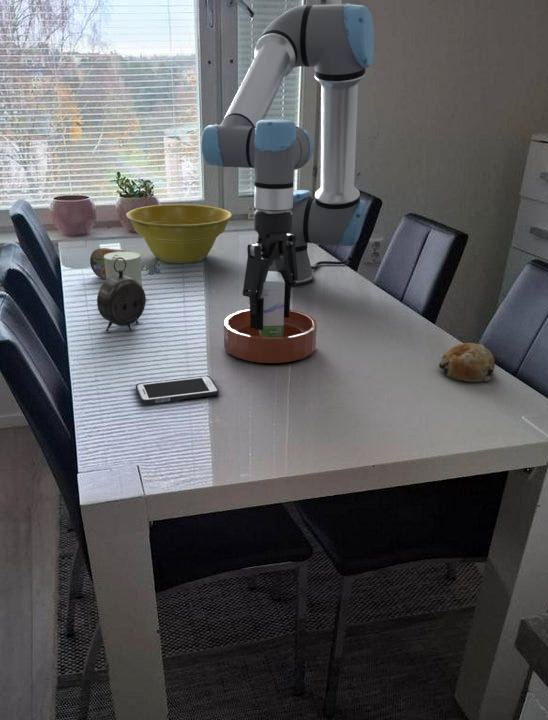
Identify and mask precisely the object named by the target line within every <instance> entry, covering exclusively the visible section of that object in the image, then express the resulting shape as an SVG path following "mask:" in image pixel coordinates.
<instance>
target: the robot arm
mask: <svg viewBox="0 0 548 720" xmlns="http://www.w3.org/2000/svg"><path fill="white" fill-rule="evenodd" d="M374 27H375V26H374V21H373V16H372V13H371V11H370V10H369V8H368V7H367V6H366V5H363V4H352V3H334V4H333V3H332V4H331V3H330V4H313V5H311V4H301V5H298V6H294V7H292V8H290V9H288V10H286V11H284V12H282V13H281V14H280V15H279V16H278V17H276V18H275V19H274V20H273V21H272V22H271V23H269V24H268V25H267V26H266V28H265V29H264V30H263V31H262V33H261V34H260V35H259V38H258V40H257V42H256V44H255V47H254V51H253V52H254V53H253V54H254V59H253V60H252V62H251V64H250V67H249V68H248V70H247V72H246V74H245V77H244V78H243V80H242V81H241V84H240V86H239V88H238V90H237V93H236V94H235V96H234V98H233V100H232V102H231V104H230V106H229V107H228V109H227V112H226V114H225V116H224V118H223V119H222V122H221V123H220V124H218V123H214V124H209V125H207V126H205V127H204V129H203V130H202V134H201V138H200V149H201V150H200V152H201V154H202V159H203V160H204V162H205V163H206V164H207V165H210V166H215V167H217V166H218V167H222V168H244V169H246V168H247V169H254V182H253V183H254V198H253V199H254V200H253V204H254V205H253V206H254V209H256V210H255V211H254V212H253V230H254V231H255V232H256V233H257V234H258V236H257V241H256V243H254V244H252V243H248V244H247V247H246V252H247V259H246V267H245V273H244V280H243V288H242V296H243V297H247V298H248V299H249V309H250V328H254V329H258V330H262V329H263V301H264V298H261V294H262V291H263V283H264V282H265V281H266V277H267V274H268V271H276V272H280V273H281V275H282V277H283V279H284V282H285V293H284V317H286V318H288V317H289V315H290V310H291V294H292V287H293V288H295V287H296V286H300V285H304V284H307V283H310V282H312V280H313V270H317V268H318V266H319V265H345V264H347V263H348V262H349V260H352V256H351V255H350V254H347V255H346V258H345V260H341V261H334V260H333V261H332V260H331V261H330V260H320V261H317V262H315V264H314V265H313V266H312V265H311V261H310V257H309V252H308V244H316V245H326V246H337V247H352V246H354V245H355V244H357V242H358V240H359V238H360V235H361V232H362V228H363V226H364V221H365V216H366V211H367V202H366V201H365V200H364V199H361V194H360V190H359V189H358V188H357V187H356V186H355V178H356V177H355V176H356V175H355V174H356V148H357V126H358V125H357V121H358V120H357V119H358V101H359V99H358V98H359V83H360V82H361V80H362V79H363V78H364V77H365V75H366V69H368V68H370V67H371V66H372V64H373V61H374V55H375V52H374V51H375V28H374ZM300 67H306V68H307V67H308V68H314V79H315V80H316V81H317V82H318V83H319V84H320V98H321V99H320V187H319V188H318V189H317V190H316V191H315V193H314V196H312V194H311V191H310V190H309V189H308V190H307V189H296V190H295V189H294V180H295V179H294V178H295V170H299V169H301V168H303V167H304V166H305V165H306V164H307V163H309V161H310V160H311V158H312V156H313V153H314V148H315V147H314V140H313V137H312V135H311V134H310V132H309V131H308V130H306V129H305V128H303V127H300V126H296V123H295V122H294V121H293V120H291V119H283V118H282V119H281V118H279V119H278V118H270V119H267V118H266V117H267V115H268V113H269V111H270V108H271V107H272V104H273V102H274V100H275V98H276V95H277V93H278V91H279V89H280V87H281V84H282V83H283V80H284V78H285V77H287V76H289V75H290V74H291V73H292V72H293V70H294V68H300Z"/></svg>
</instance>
